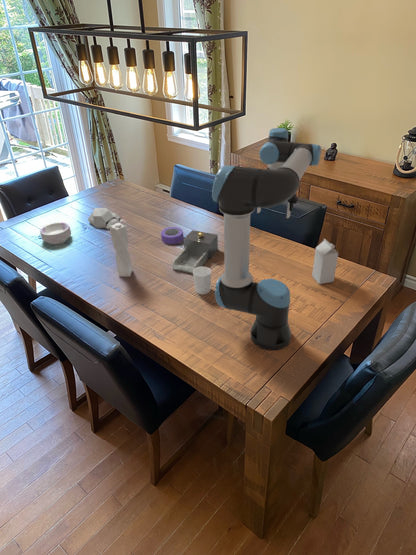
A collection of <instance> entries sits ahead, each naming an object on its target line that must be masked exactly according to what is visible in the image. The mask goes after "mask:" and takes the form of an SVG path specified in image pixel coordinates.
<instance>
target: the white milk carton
mask: <svg viewBox="0 0 416 555" xmlns="http://www.w3.org/2000/svg"><path fill="white" fill-rule="evenodd" d="M335 247H336V246H335V244H333V243H331V242H329V241H328V240H327V239H326V238H323V240H322V242H320V243H319V244H318V245H317V246H316V247H315V251H314V260H313V267H312V274H311V275H312V278H313V279H314V280H315V281H316V283H317V284H319V285H322V284H328V283H334V281H335V274H336V270H337V263H338V258H339V252H338V251H337V250H336V249H335Z"/></svg>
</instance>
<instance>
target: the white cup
mask: <svg viewBox="0 0 416 555" xmlns="http://www.w3.org/2000/svg"><path fill="white" fill-rule="evenodd" d="M192 275H193V283H194V285H193V286H194V291H195V293H197V294H198V295H207V294H209V293H210V292H211V287H212V270H211V268H210V267H208V266H204V265H203V266H202V267H197V268H195V269H194V270H193V274H192Z"/></svg>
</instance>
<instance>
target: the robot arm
mask: <svg viewBox="0 0 416 555" xmlns="http://www.w3.org/2000/svg"><path fill="white" fill-rule="evenodd" d="M258 154H259V159H260V160H261V162H262V163H264V164H265V165H266V166H267V169H266V168H258V167H249V166H238V165H222V166H221V167H220V168H219V170H218V171H217V173H216V175H215V178H214V180H213V183H212V190H211V198H212V200H213V202H215V203H218V209H219V211H220V213H222V214H223V234H224V235H223V237H224V238H223V240H224V242H223V243H224V246H223V247H224V253H223V254H224V271H223V272H222V274H221V275H220V276H219V277H218V279H217V280H216V283H215V290H214V297H215V301H216V303H217V305H218V306H219V307H220V308H224V309H227V310H229V311H230V310H233V311H237V312H241V313H246V314H249V315H255V320H254V322H253V323H252V324H253V325H252V326H251V329H250V339H251V341H252V343H253V344H254V345H255V346H257V347H258V348H260V349H263V350H266V351H279V350H282V349H284V348H286V347H287V346H288V345H289V344H290V342H291V340H292V338H291V337H292V330H291V328H290V325H289V322H288V321H289V311H290V305H291V304H290V303H291V292H290V289H289V287H288V286H287V284H285V283H284V282H282V281H281V280H278V279H273V278H267V279H266V278H264V279H262V280H260V281H259V282H255V281H254V277H253V275H252V273H251V272H250V241H251V240H250V239H251V238H250V236H251V235H250V234H251V214H253V213H254V212H255V211H256V213H257V214H259V213H260V212H262V209H270V208H274V207H277V206H279V205H281V204H282V205H283V203H285V202H288V203H287V207H286V219H289V218H290V217H291V212H292V211H293V210H294V204H295V205H296V204H297V203H298V202H299V199H298V195H297V191H298V190H299V188H300V185H301V179H302V178H303V177H304V174H305V173H306V171H307V169H308V168H309V167H310V166H315V167H316V166H318V165H319V163H320V159H321V157H322V156H321V155H322V147H321V145H320V144H315V143H302V142H291V141H290V142H289V131H288V129H286V128H284V127H274V128H271V129H270V130H269V134H268V140H267V141H266V142H265V143H264V144H262V146H261V148H260V150H259V153H258Z"/></svg>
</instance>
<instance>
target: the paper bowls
mask: <svg viewBox="0 0 416 555" xmlns="http://www.w3.org/2000/svg"><path fill="white" fill-rule="evenodd" d="M39 233H40V234H39V235H40V236H41V239H42V241H43V242H44V243H47V244H50V245H59V244H63V243H65V242H67V240H68V239H69V238H70V237H71V235H72V231H71V227H70V225H69V224H68V223H67V222H62V221H60V222H53V223H49V224H46V225H44V226H42V228H41V229H40V230H39Z"/></svg>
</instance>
